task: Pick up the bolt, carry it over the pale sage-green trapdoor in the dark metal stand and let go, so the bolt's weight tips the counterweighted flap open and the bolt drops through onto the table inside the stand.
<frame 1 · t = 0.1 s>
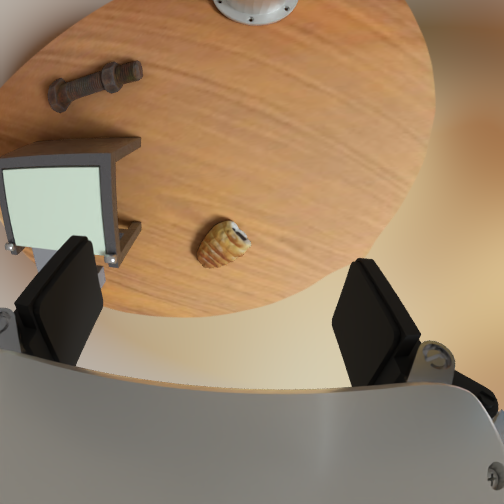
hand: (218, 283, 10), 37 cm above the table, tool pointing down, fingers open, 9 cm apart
pastry: (224, 241, 51), on the table
trapdoor: (63, 230, 38), point 9 cm above the table, hinge at 0.0°
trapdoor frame: (85, 183, 44), on the table
bolt: (101, 83, 36), on the table
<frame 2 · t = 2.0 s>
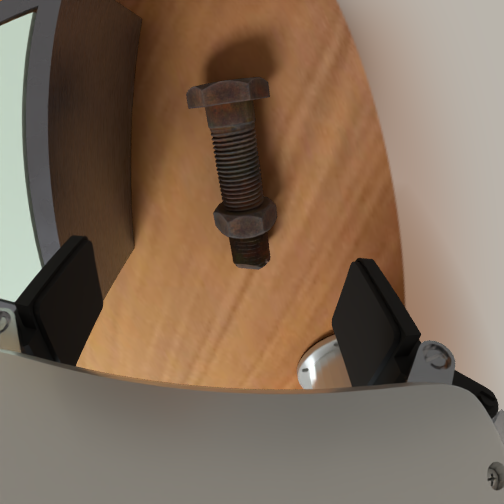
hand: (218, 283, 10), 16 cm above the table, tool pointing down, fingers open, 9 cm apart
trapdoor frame: (55, 140, 21), on the table
bolt: (238, 171, 24), on the table
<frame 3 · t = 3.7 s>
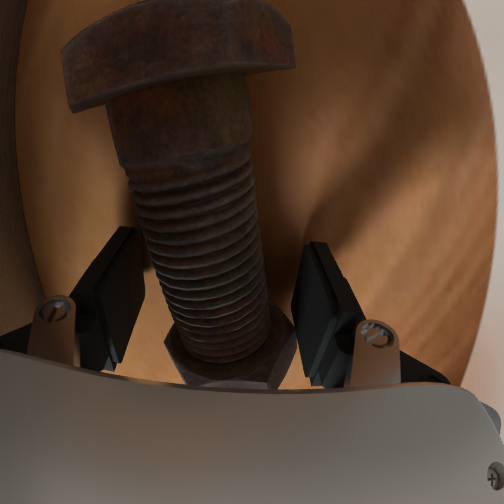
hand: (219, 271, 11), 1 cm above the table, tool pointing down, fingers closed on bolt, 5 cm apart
bolt: (215, 246, 11), on the table, touching gripper
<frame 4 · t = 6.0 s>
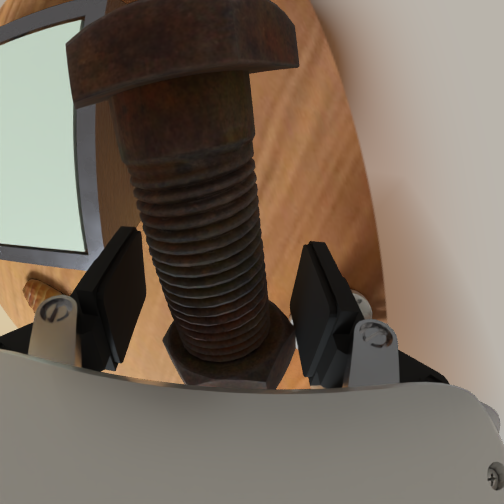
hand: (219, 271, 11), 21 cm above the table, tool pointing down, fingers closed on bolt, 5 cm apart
pastry: (54, 300, 39), on the table
trapdoor: (0, 143, 18), point 9 cm above the table, hinge at 0.0°
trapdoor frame: (80, 122, 26), on the table
bolt: (215, 244, 11), point 20 cm above the table, touching gripper
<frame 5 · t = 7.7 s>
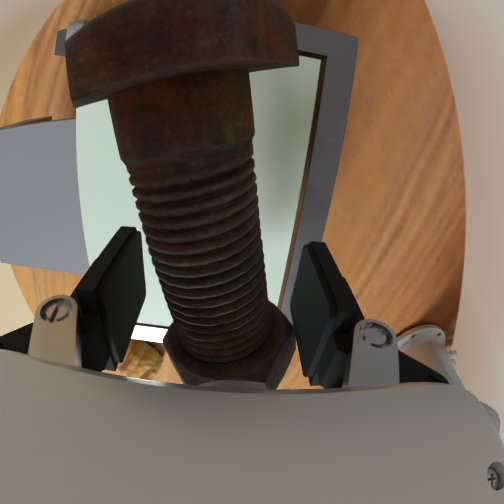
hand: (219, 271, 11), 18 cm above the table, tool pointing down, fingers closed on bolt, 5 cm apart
pastry: (134, 348, 39), on the table
trapdoor: (122, 188, 18), point 9 cm above the table, hinge at 0.0°
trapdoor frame: (204, 161, 26), on the table
bolt: (215, 244, 11), point 17 cm above the table, touching gripper
when the fingers open (15 cm above the table, at t = 8.5 s): bolt drops 10 cm, point 4 cm above the table.
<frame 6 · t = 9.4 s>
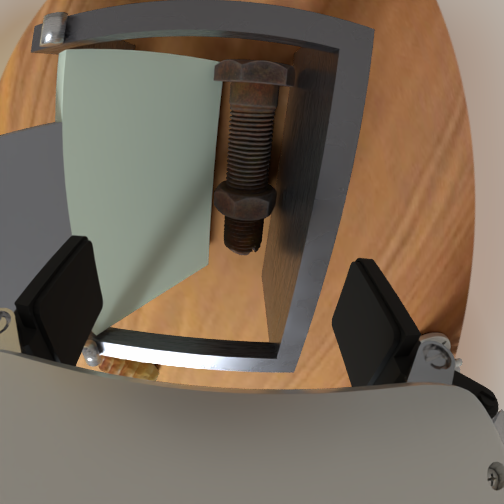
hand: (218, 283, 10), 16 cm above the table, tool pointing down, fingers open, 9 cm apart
pastry: (129, 360, 37), on the table
trapdoor: (72, 195, 16), point 9 cm above the table, hinge at -55.5°
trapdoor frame: (200, 165, 24), on the table
bolt: (222, 166, 20), point 4 cm above the table
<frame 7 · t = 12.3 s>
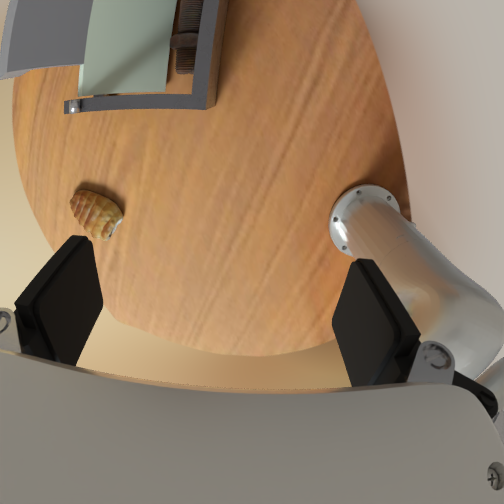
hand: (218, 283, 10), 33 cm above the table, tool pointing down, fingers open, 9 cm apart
pastry: (100, 212, 44), on the table
trapdoor: (90, 28, 22), point 9 cm above the table, hinge at -55.3°, touching bolt
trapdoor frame: (165, 34, 31), on the table
bolt: (174, 20, 27), point 4 cm above the table, touching trapdoor, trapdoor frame
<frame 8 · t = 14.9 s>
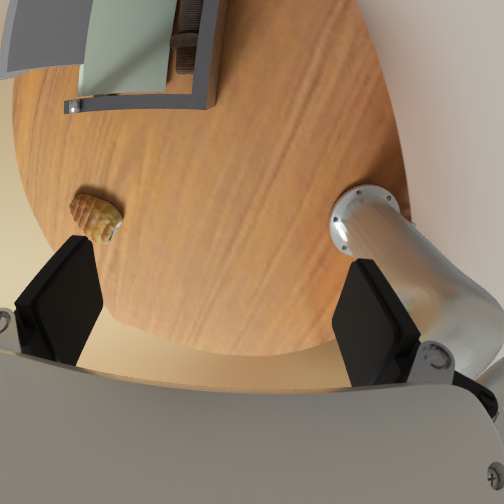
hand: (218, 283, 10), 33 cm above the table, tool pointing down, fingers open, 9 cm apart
pastry: (100, 215, 44), on the table
trapdoor: (90, 28, 22), point 9 cm above the table, hinge at -55.3°, touching bolt
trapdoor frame: (165, 34, 31), on the table
bolt: (174, 20, 27), point 4 cm above the table, touching trapdoor, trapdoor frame
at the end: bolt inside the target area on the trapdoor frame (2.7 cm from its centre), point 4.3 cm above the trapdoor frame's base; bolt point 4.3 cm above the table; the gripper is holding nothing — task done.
